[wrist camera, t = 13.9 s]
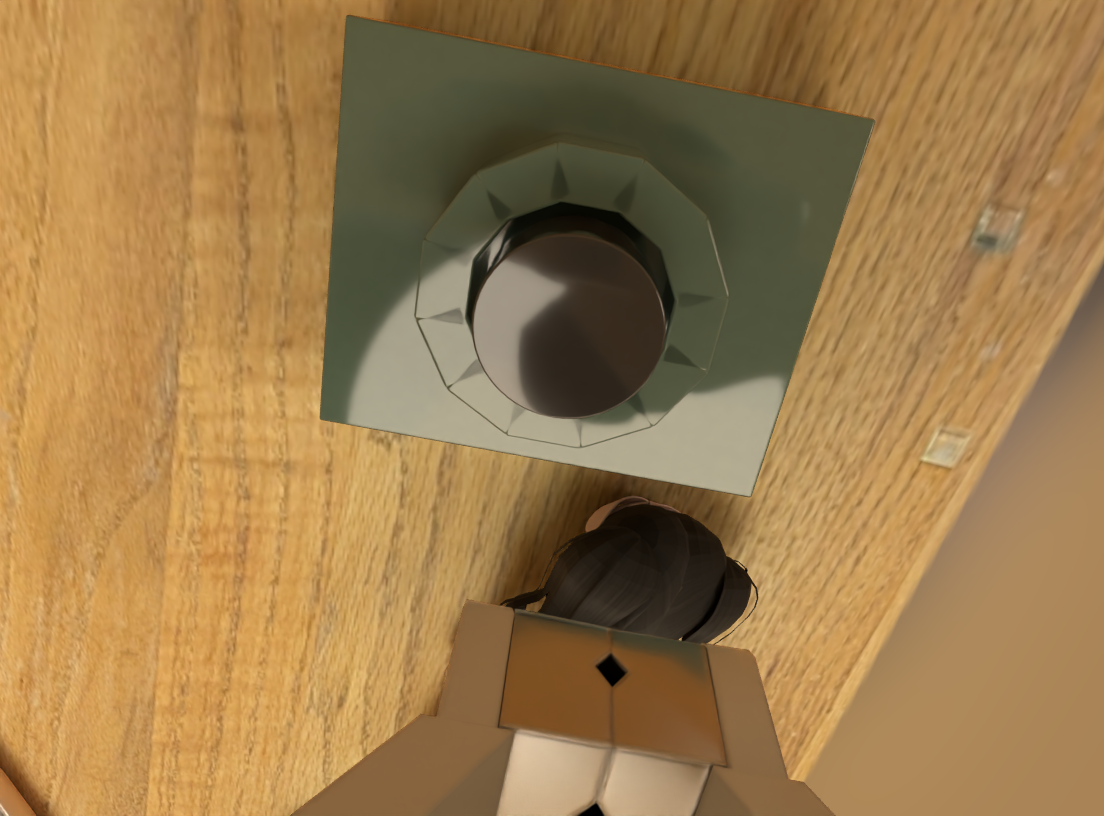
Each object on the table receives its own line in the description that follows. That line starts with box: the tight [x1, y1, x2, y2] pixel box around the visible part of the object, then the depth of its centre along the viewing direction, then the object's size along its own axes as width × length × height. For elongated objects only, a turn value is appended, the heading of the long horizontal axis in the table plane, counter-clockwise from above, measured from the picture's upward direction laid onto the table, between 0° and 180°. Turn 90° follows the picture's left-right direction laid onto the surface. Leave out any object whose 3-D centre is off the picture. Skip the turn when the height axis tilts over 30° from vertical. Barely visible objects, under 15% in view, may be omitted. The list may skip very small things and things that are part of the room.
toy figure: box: [445, 496, 758, 677], centre depth 27 cm, size 7×6×15 cm
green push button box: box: [320, 15, 875, 497], centre depth 21 cm, size 12×10×6 cm
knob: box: [471, 215, 666, 419], centre depth 17 cm, size 4×4×2 cm
